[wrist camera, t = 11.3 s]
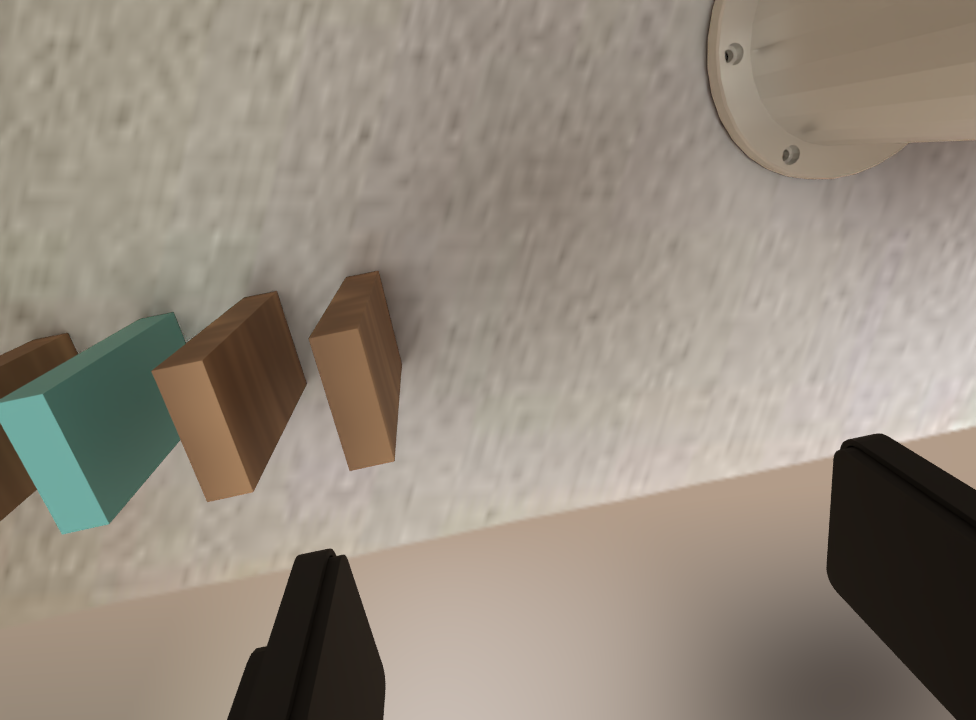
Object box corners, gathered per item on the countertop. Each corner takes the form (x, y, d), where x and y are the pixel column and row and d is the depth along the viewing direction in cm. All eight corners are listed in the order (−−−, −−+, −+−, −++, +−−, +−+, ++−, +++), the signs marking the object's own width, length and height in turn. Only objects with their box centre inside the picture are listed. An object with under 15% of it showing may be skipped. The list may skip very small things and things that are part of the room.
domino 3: (276, 291, 27) (201, 360, 18) (306, 383, 29) (253, 492, 19) (243, 297, 27) (151, 371, 18) (276, 390, 29) (207, 502, 19)
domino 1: (67, 332, 26) (-124, 427, 17) (111, 424, 28) (-41, 556, 19) (33, 339, 26) (-178, 438, 17) (79, 431, 28) (-89, 566, 19)
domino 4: (378, 270, 27) (358, 328, 18) (401, 364, 29) (394, 461, 20) (346, 277, 27) (308, 338, 18) (371, 370, 29) (349, 470, 20)
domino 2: (178, 411, 28) (62, 534, 19) (139, 318, 27) (-10, 404, 17) (210, 404, 28) (109, 524, 19) (173, 312, 27) (42, 393, 17)
